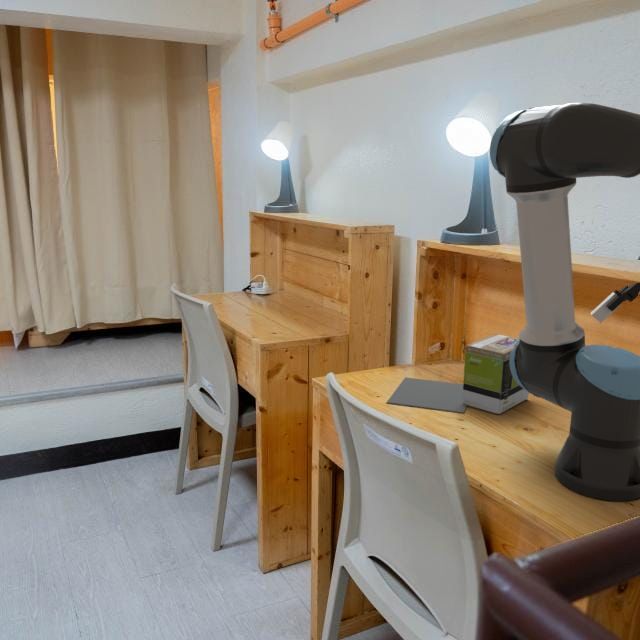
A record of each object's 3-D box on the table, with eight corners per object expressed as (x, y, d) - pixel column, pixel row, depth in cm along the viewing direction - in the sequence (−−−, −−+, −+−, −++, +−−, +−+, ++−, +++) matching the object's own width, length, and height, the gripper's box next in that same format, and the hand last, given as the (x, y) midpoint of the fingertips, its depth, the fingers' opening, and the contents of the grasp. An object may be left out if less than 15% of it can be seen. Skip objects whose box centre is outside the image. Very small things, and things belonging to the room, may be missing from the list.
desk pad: (463, 413, 143) (463, 412, 143) (386, 403, 149) (386, 402, 149) (474, 386, 161) (474, 385, 161) (405, 378, 167) (405, 377, 167)
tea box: (491, 389, 158) (496, 332, 155) (529, 399, 152) (535, 340, 148) (460, 403, 148) (465, 343, 144) (499, 415, 141) (505, 352, 138)
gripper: (709, 255, 124) (615, 338, 132) (684, 244, 136) (600, 321, 144) (682, 230, 124) (589, 315, 131) (659, 221, 136) (576, 299, 143)
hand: (595, 318), depth 137 cm, fingers closed
